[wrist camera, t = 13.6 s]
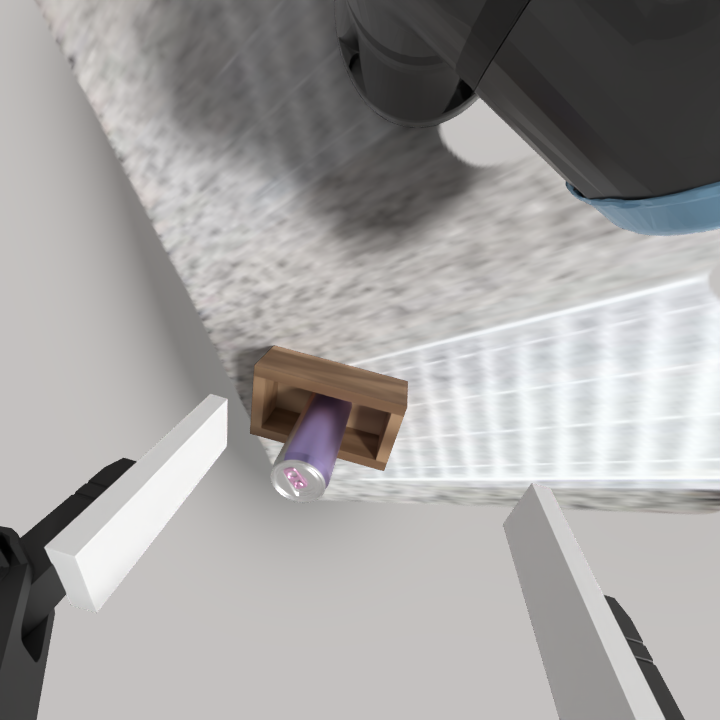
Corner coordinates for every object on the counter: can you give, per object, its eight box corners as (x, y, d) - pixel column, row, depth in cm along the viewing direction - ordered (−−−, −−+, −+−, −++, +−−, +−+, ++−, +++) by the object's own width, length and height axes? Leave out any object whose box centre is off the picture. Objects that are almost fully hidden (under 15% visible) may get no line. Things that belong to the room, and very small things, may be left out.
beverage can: (340, 375, 42) (306, 453, 28) (360, 409, 43) (337, 497, 30) (304, 389, 43) (257, 469, 30) (325, 421, 45) (289, 509, 32)
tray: (274, 345, 42) (254, 365, 37) (407, 381, 42) (407, 406, 36) (268, 408, 47) (249, 433, 42) (387, 441, 47) (383, 471, 41)
